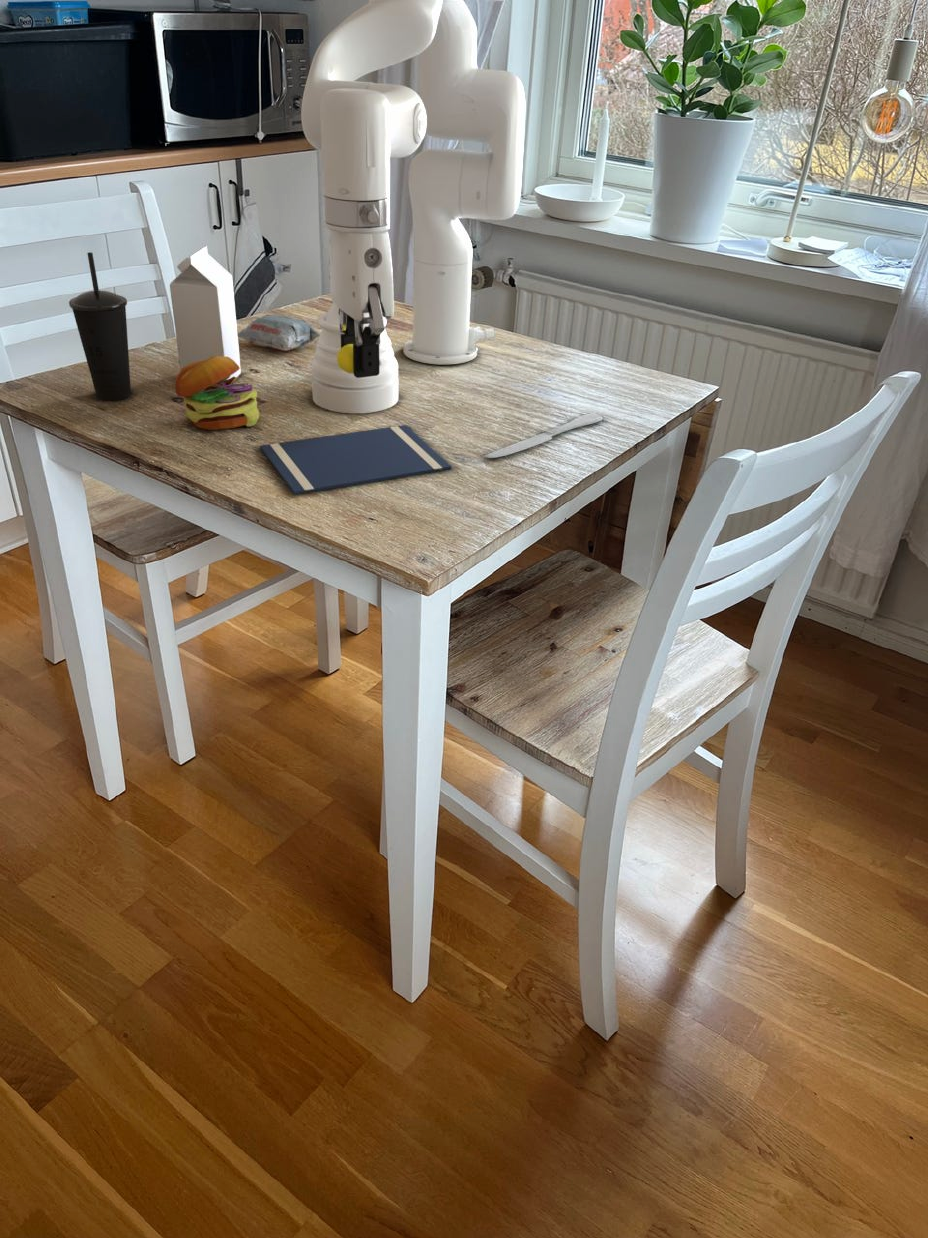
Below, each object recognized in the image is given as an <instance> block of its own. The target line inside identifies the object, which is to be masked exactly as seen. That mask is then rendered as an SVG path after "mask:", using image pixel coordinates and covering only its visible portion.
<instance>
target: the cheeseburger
mask: <svg viewBox="0 0 928 1238" xmlns="http://www.w3.org/2000/svg"><path fill="white" fill-rule="evenodd" d="M239 369H240V368H239V366H238V365H237V364H236V363H235V362H234V361H233V360H232V359H231V358H229V357H223V356H213V357H211V358H209V359H207V360H203V361H199V362H195V363H192V364H189V365H187V366H185V367H183V368H182V369H181V370H179V372H178V373H177V374H176V375H177V376H176V379H175V382H174V390H175V393H176V394H175V395H176V396H177V397H178V398H183V404H184V405H185V409H184V410H185V413H184V414H185V415H186V416H187V418H188V419H189V420H190V421H191V422H192V424H193V425H195V426H196V427H197V428H199V429H202V430H210V431H213V430H215V431H216V430H225V429H233V428H234V429H235V428H238V427H244V426H246V427H253V426H255V425H256V424H257V423H258V421H259V418H260V411H259V408H258V400H257V397H258V392H257V390H256V389H255V388H254V387H253V386H252V384H249V383H236V382H237V381H238V380H239V378H240V375H238V377H236V378H235V377H232V378H230V379H228V378H229V377H230V376H231V375H232V374H234V373H235V372H237V371H238V370H239ZM226 379H228V380H226Z"/></svg>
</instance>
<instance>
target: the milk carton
mask: <svg viewBox="0 0 928 1238" xmlns="http://www.w3.org/2000/svg"><path fill="white" fill-rule="evenodd" d="M176 268H177V269H178V270H179V272H180V273H179V274H178V275H177V276H176V277H175V278H174V279H173V280H172V281H171V282H170V283H169V290H170V300H171V308H172V314H173V323H174V329H175V338H176V339H175V340H176V344H177V345H176V346H177V353H178V354H177V355H178V361H179V362H178V363H179V371H181V369H182V368H183V367H185V366H187V365H189V364H192V363H195V362H199V361H203V360H207V359H209V358H211V357H213V356H223V357H229V358H231V359H232V360H233V361H234V362H235V363H236V364H237V365H238V366H239V368H240V369H239V370H238V371H237V372H235V373H234V374H232V375H231V376H230V377H229V378H228V379H230V378H232V377H235V378H236V377H238V375H239V376H241V373H242V367H241V355H240V345H239V337H238V334H237V333H238V325H237V316H236V315H237V313H236V303H235V293H234V292H235V291H234V282H233V281H234V280H233V274H231V273H230V272H229V271H228V270H227V269H225V268H224V267H223V266H222V265H221V264H220V263H219V262H218V261H216V259H214V258H213V257H212V255H210V254H209V253H208V245H204V246H202V247H201V248H200V249H198V250H197V251H195V252H193V253H192V254H190V255H189V257H185V259H183V260H182V261H180V262H179V264H178V265H177V266H176ZM228 379H226V380H228Z"/></svg>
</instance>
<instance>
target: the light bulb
mask: <svg viewBox="0 0 928 1238" xmlns="http://www.w3.org/2000/svg"><path fill="white" fill-rule="evenodd" d="M337 362H338V365H339V367H340V368H341V369H342V370H344V371H345V372H347V373H350V374H354V371H353V344H347V345H345V346H343V347H342V348H341V349H340V350H339V352H338V354H337ZM380 365H381V361H380V359H379V366H380Z"/></svg>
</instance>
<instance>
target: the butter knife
mask: <svg viewBox="0 0 928 1238" xmlns="http://www.w3.org/2000/svg"><path fill="white" fill-rule="evenodd" d="M602 420H603V417H602V415H601V414H599V413H595V412H587V413H586V414H583V415H580V416H578V417H575V418H574V419H573V420H570V421H568V422H567V423H564V424H562V425H560V426H557V427H553V428H551V429H548V430H546V431H545V432H542V433H539V434H537V435H535V436H532V437H529V438H525V439H524V440H521V441H518V442H515V443H512V444H509V445H507V446H504V447H502V448H500V449H497V450H495V451H493V452H490V453H487V454H485V455H483V457H484V458H488V459H494V458H500V457H504V456H508V455H512V454H515V453H518V452H521V451H524V450H527V449H530V448H533V447H535V446H538V445H541V444H543V443H545V442H549V441H551V440H552V439H553V437H554V436H556V435H559V434H562V433H564V432H568V431H570V430H573V429H577V428H581V427H584V426H588V425H592V424H595V423H598V422H601V421H602Z"/></svg>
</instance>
